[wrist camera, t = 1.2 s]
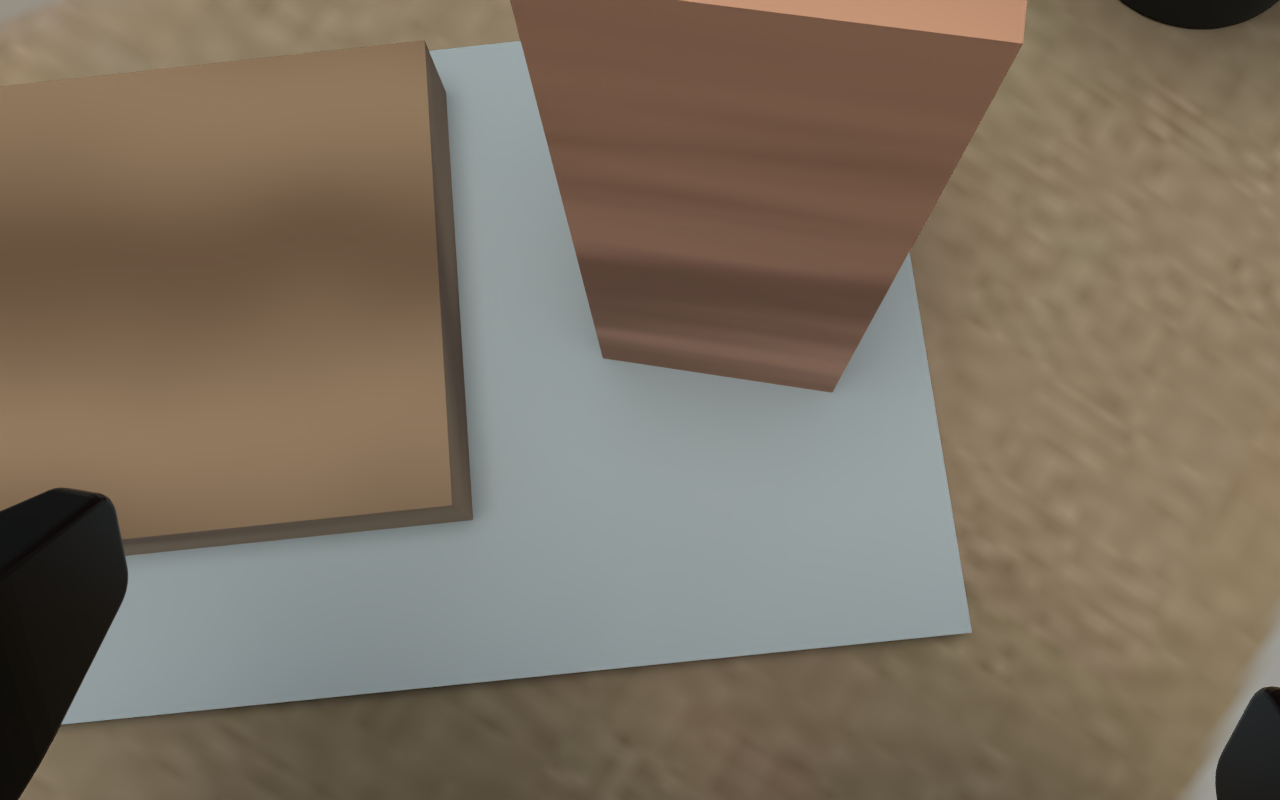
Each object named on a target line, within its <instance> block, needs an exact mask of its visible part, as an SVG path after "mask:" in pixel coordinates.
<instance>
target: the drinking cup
mask: <svg viewBox="0 0 1280 800" xmlns="http://www.w3.org/2000/svg"><path fill="white" fill-rule="evenodd" d="M1122 1H1123V2H1125V3H1126V4H1127V5H1129V6H1130V7H1132V8H1133V9H1135V10H1137V11H1139V12H1140V13H1142V14H1144V15H1146V16H1148V17H1151V18H1153V19H1156V20H1159V21H1161V22H1165V23H1168V24H1172V25H1177V26H1182V27H1190V28H1214V27H1221V26H1227V25H1232V24H1236V23H1239V22H1242V21H1245V20H1248V19H1250V18H1252V17H1255V16H1257V15H1258V14H1260V13H1262V12H1264V11H1265V10H1267V9H1268V8H1270V7H1271V6H1273V5H1274V4H1275V3H1276V2H1277V1H1278V0H1122Z"/></svg>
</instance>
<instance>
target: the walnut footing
mask: <svg viewBox="0 0 1280 800" xmlns="http://www.w3.org/2000/svg"><path fill="white" fill-rule="evenodd" d="M54 488H72V489H78V490H84V491H90V492H96V493H101V494H103V495H105V496H107V497H109V498H110V500H111V501H112V502H113V504H114V506H115V509H116V513H117V518H118V523H119V528H120V533H121V538H122V543H123V548H124V552H125V556H128V555H138V554H148V553H157V552H167V551H177V550H187V549H196V548H206V547H216V546H225V545H235V544H245V543H255V542H264V541H274V540H284V539H293V538H303V537H313V536H323V535H332V534H342V533H352V532H361V531H371V530H381V529H391V528H400V527H410V526H420V525H429V524H439V523H449V522H459V521H468V520H473V510H472V494H471V479H470V463H469V447H468V431H467V416H466V400H465V384H464V368H463V353H462V337H461V321H460V306H459V290H458V274H457V258H456V243H455V227H454V211H453V195H452V180H451V164H450V148H449V132H448V117H447V101H446V91H445V89H444V86H443V84H442V81H441V79H440V77H439V74H438V72H437V69H436V67H435V65H434V62H433V60H432V57H431V55H430V52H429V50H428V48H427V45H426V43H425V40H424V41H415V42H405V43H396V44H387V45H378V46H369V47H359V48H350V49H341V50H332V51H322V52H313V53H304V54H295V55H286V56H276V57H267V58H258V59H249V60H240V61H230V62H221V63H212V64H203V65H194V66H184V67H175V68H166V69H157V70H148V71H138V72H129V73H120V74H111V75H102V76H92V77H83V78H74V79H65V80H56V81H46V82H37V83H28V84H19V85H10V86H0V511H2V510H4V509H7V508H9V507H11V506H14V505H16V504H18V503H20V502H23V501H25V500H27V499H30V498H32V497H34V496H37V495H39V494H41V493H43V492H46V491H48V490H51V489H54Z"/></svg>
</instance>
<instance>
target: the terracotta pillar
mask: <svg viewBox="0 0 1280 800" xmlns="http://www.w3.org/2000/svg"><path fill="white" fill-rule="evenodd" d="M510 2H511V6H512V9H513V13H514V17H515V21H516V25H517V29H518V33H519V37H520V40H521V44H522V48H523V52H524V56H525V60H526V64H527V67H528V71H529V75H530V79H531V83H532V87H533V91H534V94H535V98H536V102H537V106H538V110H539V114H540V118H541V121H542V125H543V129H544V133H545V137H546V141H547V145H548V148H549V152H550V156H551V160H552V164H553V168H554V172H555V176H556V179H557V183H558V187H559V191H560V195H561V199H562V203H563V206H564V210H565V214H566V218H567V222H568V226H569V230H570V233H571V237H572V241H573V245H574V249H575V253H576V257H577V260H578V264H579V268H580V272H581V276H582V280H583V284H584V287H585V291H586V295H587V299H588V303H589V307H590V311H591V315H592V318H593V322H594V326H595V330H596V334H597V338H598V342H599V345H600V349H601V353H602V357H603V358H604V359H611V360H618V361H624V362H631V363H638V364H644V365H651V366H657V367H664V368H671V369H677V370H684V371H691V372H697V373H704V374H711V375H717V376H724V377H731V378H737V379H744V380H751V381H757V382H764V383H771V384H777V385H784V386H791V387H797V388H804V389H811V390H817V391H824V392H831V393H832V392H833V390H834V389H835V387H836V385H837V383H838V381H839V379H840V378H841V376H842V374H843V372H844V370H845V368H846V367H847V365H848V363H849V361H850V359H851V357H852V356H853V354H854V352H855V350H856V348H857V346H858V345H859V343H860V341H861V339H862V337H863V335H864V334H865V332H866V330H867V328H868V326H869V324H870V323H871V321H872V319H873V317H874V315H875V314H876V312H877V310H878V308H879V306H880V304H881V303H882V301H883V299H884V297H885V295H886V293H887V292H888V290H889V288H890V286H891V284H892V282H893V281H894V279H895V277H896V275H897V273H898V271H899V270H900V268H901V266H902V264H903V262H904V260H905V259H906V257H907V255H908V253H909V251H910V249H911V248H912V246H913V244H914V242H915V240H916V238H917V237H918V235H919V233H920V231H921V229H922V227H923V226H924V224H925V222H926V220H927V218H928V217H929V215H930V213H931V211H932V209H933V207H934V206H935V204H936V202H937V200H938V198H939V196H940V195H941V193H942V191H943V189H944V187H945V185H946V184H947V182H948V180H949V178H950V176H951V174H952V173H953V171H954V169H955V167H956V165H957V163H958V162H959V160H960V158H961V156H962V154H963V152H964V151H965V149H966V147H967V145H968V143H969V141H970V140H971V138H972V136H973V134H974V132H975V130H976V129H977V127H978V125H979V123H980V121H981V120H982V118H983V116H984V114H985V112H986V110H987V109H988V107H989V105H990V103H991V101H992V99H993V98H994V96H995V94H996V92H997V90H998V88H999V87H1000V85H1001V83H1002V81H1003V79H1004V77H1005V76H1006V74H1007V72H1008V70H1009V68H1010V66H1011V65H1012V63H1013V61H1014V59H1015V57H1016V55H1017V54H1018V52H1019V50H1020V48H1021V46H1022V44H1023V38H1024V28H1025V18H1026V8H1027V0H510Z"/></svg>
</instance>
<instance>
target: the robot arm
mask: <svg viewBox="0 0 1280 800" xmlns="http://www.w3.org/2000/svg"><path fill="white" fill-rule="evenodd" d="M127 585H128V567H127V562H126V557H125V552H124V548H123V543H122V538H121V533H120V528H119V523H118V518H117V513H116V509H115V506H114V504H113V502H112V501H111V500H110V498H109V497H107V496H105V495H103V494H101V493H96V492H90V491H84V490H78V489H72V488H54V489H51V490H48V491H46V492H43V493H41V494H39V495H37V496H34V497H32V498H30V499H27V500H25V501H23V502H20V503H18V504H16V505H14V506H11V507H9V508H7V509H4V510H2V511H0V800H18V799H19V797H20V796H21V794H22V793H23V791H24V789H25V788H26V786H27V785H28V783H29V781H30V780H31V778H32V776H33V775H34V773H35V771H36V770H37V768H38V767H39V765H40V763H41V761H42V759H43V758H44V756H45V754H46V752H47V750H48V748H49V747H50V745H51V743H52V741H53V739H54V737H55V735H56V733H57V731H58V729H59V727H60V725H61V723H62V722H63V720H64V718H65V716H66V714H67V712H68V710H69V708H70V706H71V704H72V702H73V700H74V698H75V696H76V694H77V692H78V690H79V688H80V686H81V684H82V682H83V680H84V678H85V676H86V674H87V672H88V670H89V668H90V666H91V664H92V662H93V660H94V658H95V656H96V654H97V652H98V650H99V648H100V646H101V644H102V642H103V640H104V638H105V636H106V634H107V632H108V630H109V628H110V626H111V624H112V622H113V620H114V618H115V616H116V614H117V612H118V610H119V608H120V606H121V604H122V602H123V600H124V597H125V594H126V590H127ZM1216 794H1217V800H1280V688H1279V687H1266V688H1262V689H1261V690H1259V691H1258V692H1256V693H1255V694H1254V696H1253V697H1252V699H1251V700H1250V702H1249V704H1248V706H1247V707H1246V709H1245V711H1244V713H1243V715H1242V717H1241V719H1240V720H1239V722H1238V724H1237V726H1236V728H1235V730H1234V731H1233V733H1232V735H1231V737H1230V739H1229V741H1228V743H1227V744H1226V746H1225V748H1224V750H1223V752H1222V754H1221V756H1220V758H1219V761H1218V765H1217V769H1216Z"/></svg>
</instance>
